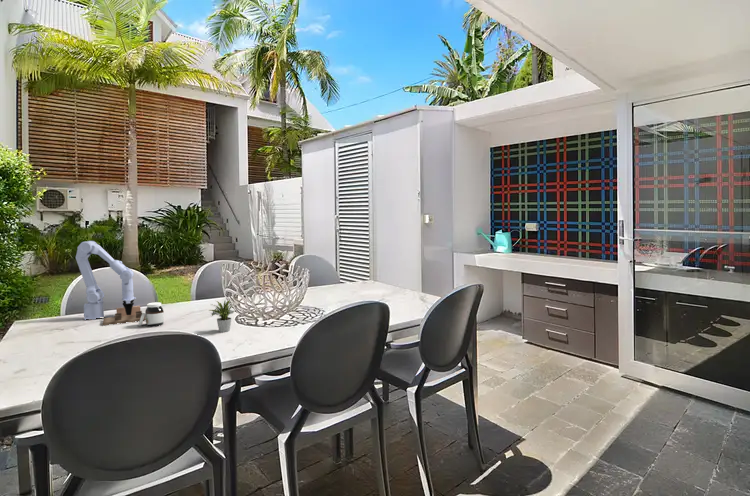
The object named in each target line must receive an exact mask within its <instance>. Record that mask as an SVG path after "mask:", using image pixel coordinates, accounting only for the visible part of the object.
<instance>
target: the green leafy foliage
mask: <svg viewBox="0 0 750 496" xmlns="http://www.w3.org/2000/svg"><path fill="white" fill-rule="evenodd" d="M224 301H225V305H226V302H227V300H226V298H225V297H223V299H222V300H221V302H220V303H221V304H222V306H224ZM217 306H218V307H219V305H217ZM228 307H229V308H230V306H229V305H228ZM219 308H220V307H219ZM217 309H218V308H217V307H216V310H217ZM220 309H221V308H220ZM218 310H219V309H218ZM228 310H229V309H228ZM219 311H220V310H219ZM232 311H233V312H232ZM229 312H231V313H230V314H229V315H231V314H232V315H233V314H234V313H235V311H234V309H233V308H232V307H231V309H230V310H229ZM217 314H218V315H220V314H219V313H217V312H215V315H217Z"/></svg>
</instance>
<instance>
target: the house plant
mask: <svg viewBox="0 0 750 496" xmlns="http://www.w3.org/2000/svg"><path fill="white" fill-rule="evenodd" d="M216 302H217V304H218V305H215V304H213V303H211V306H213V307H215V308H216V309H208V311H211V312H213V313H211V315H210V316H211V317H212V316H214V315H216V316H218V317H217V318H216V322H217V328H218V331H219V333H228V332H230V330H231V324H232V317H230V316H229V315H231V314H230V313H231V312H229V310H230V309H231V307H232V306H233V305H231V306H230V305H229V302H230V300H229V301H227V302H226V305H225V301H224V306H222V304H221V302H219V301H218V300H216ZM231 302H232V301H231ZM230 304H231V303H230ZM232 304H233V303H232ZM228 305H229V306H230V308H229V307H228ZM218 306H219V307H220V308H221V309H220V308H219V307H218ZM217 308H218V309H219V310H220V311H219V310H218V309H217ZM228 309H229V310H228ZM216 312H217V313H219V314H216ZM232 312H233V311H232Z"/></svg>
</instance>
